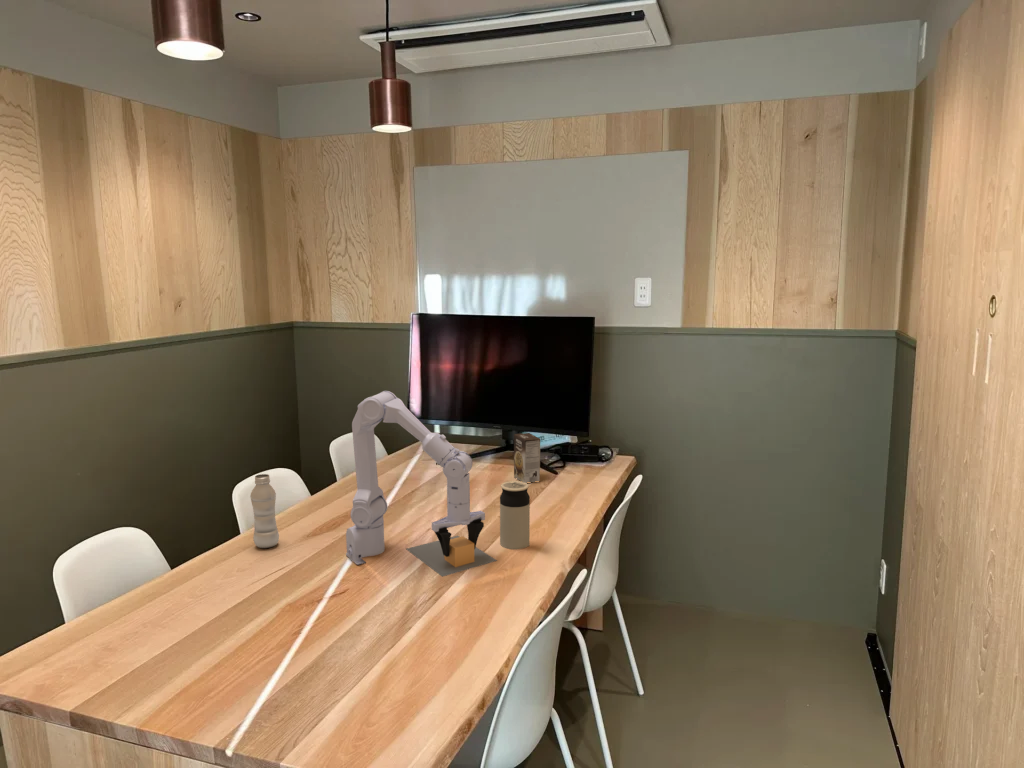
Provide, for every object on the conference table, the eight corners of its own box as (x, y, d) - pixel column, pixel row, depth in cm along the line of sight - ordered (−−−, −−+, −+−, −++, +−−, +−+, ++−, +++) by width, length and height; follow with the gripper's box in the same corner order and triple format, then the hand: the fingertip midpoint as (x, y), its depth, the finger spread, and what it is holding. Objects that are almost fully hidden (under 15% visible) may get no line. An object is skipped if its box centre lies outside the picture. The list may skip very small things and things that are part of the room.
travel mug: (526, 555, 184) (526, 490, 180) (497, 553, 185) (497, 488, 182) (531, 543, 191) (532, 481, 188) (503, 541, 193) (503, 479, 190)
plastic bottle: (271, 551, 186) (267, 480, 182) (248, 549, 187) (244, 478, 184) (284, 542, 192) (280, 473, 189) (262, 540, 193) (257, 471, 190)
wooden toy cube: (455, 567, 173) (455, 548, 172) (444, 559, 178) (444, 541, 177) (474, 561, 176) (474, 543, 175) (463, 554, 181) (463, 536, 180)
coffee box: (513, 477, 250) (513, 434, 247) (529, 475, 253) (529, 432, 250) (524, 484, 242) (524, 439, 239) (540, 482, 245) (540, 437, 242)
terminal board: (442, 582, 168) (442, 562, 167) (405, 554, 185) (405, 536, 184) (497, 566, 177) (497, 547, 176) (457, 540, 193) (457, 523, 193)
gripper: (440, 511, 167) (441, 564, 169) (491, 499, 175) (491, 550, 177) (427, 503, 173) (428, 554, 175) (476, 492, 181) (477, 541, 183)
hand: (459, 551), depth 177 cm, fingers open, 7 cm apart
